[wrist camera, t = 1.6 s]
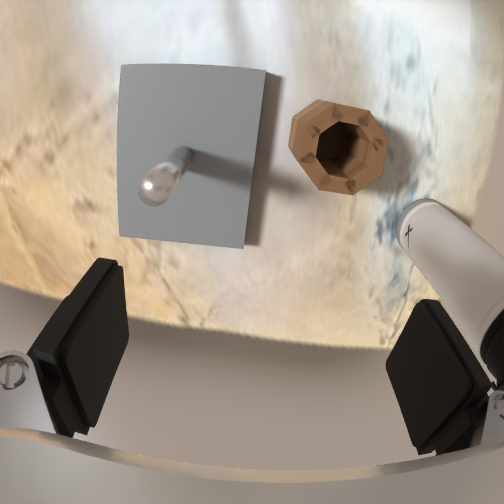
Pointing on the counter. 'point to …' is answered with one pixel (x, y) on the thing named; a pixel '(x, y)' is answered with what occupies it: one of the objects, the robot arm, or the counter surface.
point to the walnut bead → (347, 163)
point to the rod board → (195, 138)
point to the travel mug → (459, 275)
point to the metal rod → (165, 177)
